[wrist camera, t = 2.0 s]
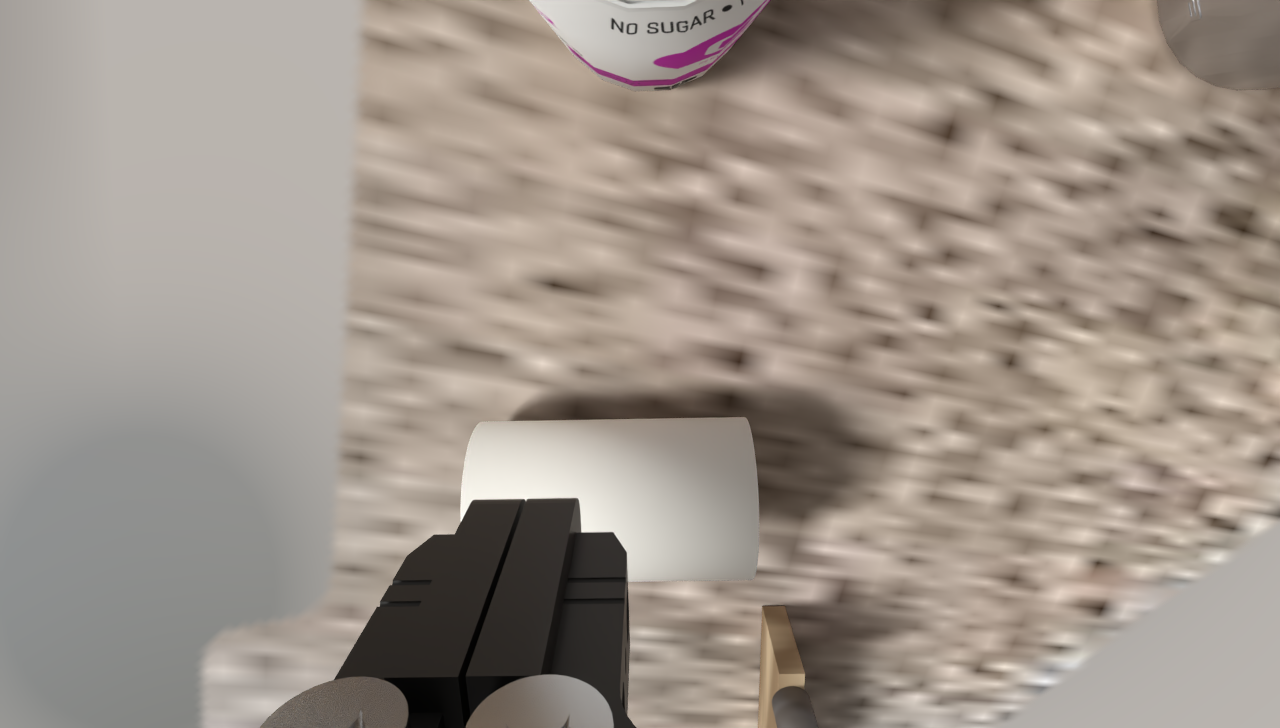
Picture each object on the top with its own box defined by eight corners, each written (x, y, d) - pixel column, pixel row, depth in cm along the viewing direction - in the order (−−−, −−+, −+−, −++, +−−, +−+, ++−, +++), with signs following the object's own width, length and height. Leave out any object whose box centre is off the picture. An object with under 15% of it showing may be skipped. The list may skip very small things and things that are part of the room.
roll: (741, 402, 34) (766, 440, 27) (741, 539, 35) (765, 611, 28) (490, 406, 34) (449, 445, 27) (498, 543, 36) (460, 615, 28)
